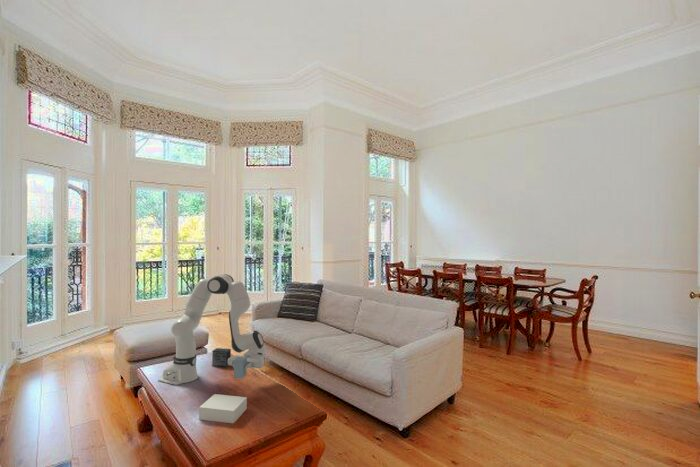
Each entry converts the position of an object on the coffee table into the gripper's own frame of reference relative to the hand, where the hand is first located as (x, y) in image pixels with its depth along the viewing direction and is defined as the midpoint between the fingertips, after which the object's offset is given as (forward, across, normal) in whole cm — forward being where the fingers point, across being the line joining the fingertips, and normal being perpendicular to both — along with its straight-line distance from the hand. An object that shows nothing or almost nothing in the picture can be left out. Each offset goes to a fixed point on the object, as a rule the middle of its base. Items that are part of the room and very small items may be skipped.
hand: (239, 367), depth 193 cm
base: (+17, 0, +17) cm, 24 cm away
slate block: (-1, 0, +6) cm, 6 cm away
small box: (-42, -34, +18) cm, 57 cm away
